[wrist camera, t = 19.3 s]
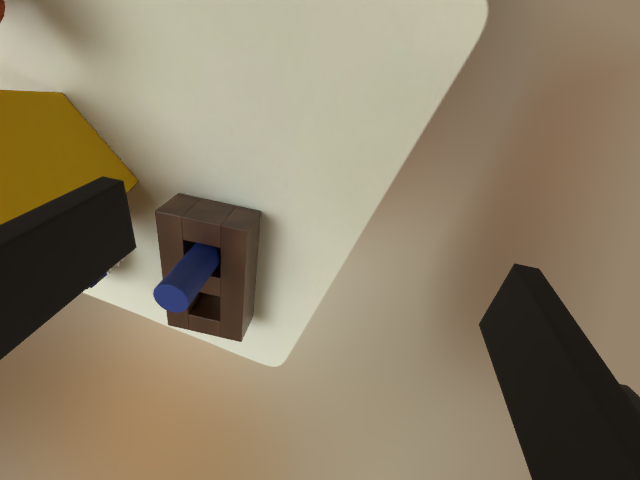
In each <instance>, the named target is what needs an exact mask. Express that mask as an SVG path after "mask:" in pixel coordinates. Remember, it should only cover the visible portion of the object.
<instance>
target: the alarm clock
mask: <svg viewBox="0 0 640 480" xmlns="http://www.w3.org/2000/svg"><path fill="white" fill-rule="evenodd" d="M102 176H104V177H109V178H113V179H118V180H123V181H124V185H125V190H126V193H127V192H128V191H129V190H130V189H131V188H132V187H133V186H134V185H135V184H136V183H137V182H138V180H137V179H136V178H135V176H134V175H133V174H132V173H131V172H130V171H129V169H128V168H127V167H126V166H125V165H124V164H123V163H122V161H121V160H120V159H119V158H118V157H117V156H116V154H115V153H114V152H113V151H112V150H111V149H110V148H109V146H108V145H107V144H106V143H105V142H104V141H103V139H102V138H101V137H100V136H99V135H98V134H97V133H96V131H95V130H94V129H93V128H92V127H91V126H90V125H89V123H88V122H87V121H86V120H85V119H84V118H83V116H82V115H81V114H80V113H79V112H78V111H77V110H76V108H75V107H74V106H73V105H72V104H71V103H70V101H69V100H68V99H67V98H66V97H65V96H64V95H63V93H58V92H35V91H12V90H0V225H1V224H3V223H5V222H7V221H9V220H11V219H13V218H16V217H18V216H20V215H22V214H24V213H26V212H28V211H30V210H32V209H35V208H37V207H39V206H41V205H43V204H45V203H47V202H49V201H51V200H54V199H56V198H58V197H60V196H62V195H64V194H66V193H68V192H70V191H73V190H75V189H77V188H79V187H81V186H83V185H85V184H87V183H89V182H92V181H94V180H96V179H98V178H100V177H102Z"/></svg>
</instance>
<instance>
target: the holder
mask: <svg viewBox="0 0 640 480" xmlns="http://www.w3.org/2000/svg"><path fill="white" fill-rule="evenodd" d="M155 215H156V224H157V233H158V241H159V250H160V258H161V267H162V275H163V279H164V278H165V277H166V275H167V274H168V273H169V272H170V271H171V270H172V269H173V268H174V267H175V266H176V264H177V263H178V262H179V261H180V260H181V259H182V258H183V257H184V256H185V254H186V253H187V252H188V251H189V250H190V249H191V248H192V247H193V246H194V244H195V243H201V244H205V245H210V246H214V247H219V248H221V262H220V263H219V264H218V266H217V267H216V269H215V270H214V271H213V273H212V274H211V276H210V277H209V278H208V280H207V281H206V283H205V284H204V286H203V287H202V288H201V290H200V291H199V293H198V294H197V295H196V297H195V298H194V300H193V301H192V302H191V304H190V305H189V307H188V308H187V309H186V310H185V311H183V312H179V313H176V312H171V311H168V310H167V318H168V325H170V326H175V327H179V328H183V329H188V330H192V331H196V332H201V333H205V334H209V335H214V336H218V337H222V338H226V339H231V340H235V341H239V342H242V339H243V337H244V335H245V333H246V331H247V328H248V326H249V324H250V322H251V319H252V317H253V308H254V295H255V282H256V269H257V256H258V243H259V230H260V217H261V211H258V210H253V209H248V208H244V207H239V206H235V205H230V204H225V203H221V202H216V201H211V200H207V199H201V198H197V197H192V196H188V195H183V194H177V195H176V196H174V197H173V198H172V199H170V200H169V201H168V202H166V203H165V204H164V205H162V206H161V207H160V208H158V209H157V210H156V211H155Z"/></svg>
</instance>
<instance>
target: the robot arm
mask: <svg viewBox="0 0 640 480" xmlns="http://www.w3.org/2000/svg"><path fill="white" fill-rule="evenodd" d="M135 248H136V244H135V238H134V233H133V228H132V222H131V217H130V212H129V206H128V201H127V196H126V190H125V185H124V181H123V180H118V179H113V178H109V177H104V176H102V177H100V178H98V179H96V180H94V181H92V182H89V183H87V184H85V185H83V186H81V187H79V188H77V189H75V190H73V191H70V192H68V193H66V194H64V195H62V196H60V197H58V198H56V199H54V200H51V201H49V202H47V203H45V204H43V205H41V206H39V207H37V208H35V209H32V210H30V211H28V212H26V213H24V214H22V215H20V216H18V217H16V218H13V219H11V220H9V221H7V222H5V223H3V224H1V225H0V360H1V359H2V358H3V357H4V356H6V355H7V354H8V353H9V352H10V351H11V350H13V349H14V348H15V347H16V346H18V345H19V344H20V343H21V342H22V341H24V340H25V339H26V338H27V337H28V336H30V335H31V334H32V333H33V332H35V330H37V329H38V328H39V327H41V326H42V325H43V324H44V323H45V322H47V321H48V320H49V319H50V318H51V317H53V316H54V315H55V314H56V313H57V312H59V311H60V310H61V309H62V308H63V307H65V306H66V305H67V304H68V303H69V302H71V301H72V300H73V299H74V298H76V297H77V296H78V295H79V294H80V293H82V292H83V291H84V290H85V289H86V288H88V287H89V286H90V285H91V284H93V283H94V282H95V281H96V280H97V279H99V278H100V277H101V276H102V275H103V274H105V273H106V272H107V271H108V270H109V269H111V268H112V267H113V266H114V265H115V264H117V263H118V262H119V261H120V260H122V259H123V258H124V257H125V256H126V255H128V254H129V253H130V252H131V251H132V250H134V249H135ZM479 326H480V329H481V332H482V335H483V338H484V341H485V344H486V346H487V349H488V352H489V355H490V358H491V361H492V364H493V367H494V370H495V373H496V375H497V379H498V381H499V384H500V387H501V390H502V393H503V396H504V399H505V402H506V405H507V408H508V411H509V413H510V416H511V419H512V422H513V425H514V428H515V431H516V434H517V437H518V439H519V443H520V445H521V448H522V451H523V454H524V457H525V460H526V463H527V466H528V469H529V472H530V475H531V477H532V480H640V397H639V396H638V395H637V394H636V393H635V392H634V391H633V390H632V389H631V388H630V387H628V386H626V385H621V384H619V383H618V382H617V380H616V379H615V377H614V376H613V374H612V373H611V371H610V370H609V369H608V367H607V366H606V364H605V363H604V362H603V360H602V358H601V357H600V356H599V354H598V353H597V351H596V350H595V348H594V347H593V346H592V344H591V343H590V341H589V340H588V338H587V337H586V336H585V334H584V333H583V331H582V330H581V328H580V327H579V325H578V324H577V323H576V321H575V320H574V318H573V317H572V315H571V314H570V312H569V311H568V310H567V308H566V307H565V305H564V304H563V302H562V301H561V300H560V298H559V297H558V295H557V294H556V292H555V291H554V290H553V288H552V287H551V285H550V284H549V282H548V281H547V279H546V278H545V277H544V275H543V274H542V272H541V271H540V270H539V269H538V268H533V267H528V266H524V265H519V264H514V265H513V267H512V269H511V270H510V272H509V274H508V275H507V277H506V279H505V280H504V282H503V284H502V286H501V287H500V289H499V291H498V292H497V294H496V296H495V298H494V299H493V301H492V303H491V304H490V306H489V308H488V310H487V311H486V313H485V315H484V316H483V318H482V320H481V322H480V323H479Z"/></svg>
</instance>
